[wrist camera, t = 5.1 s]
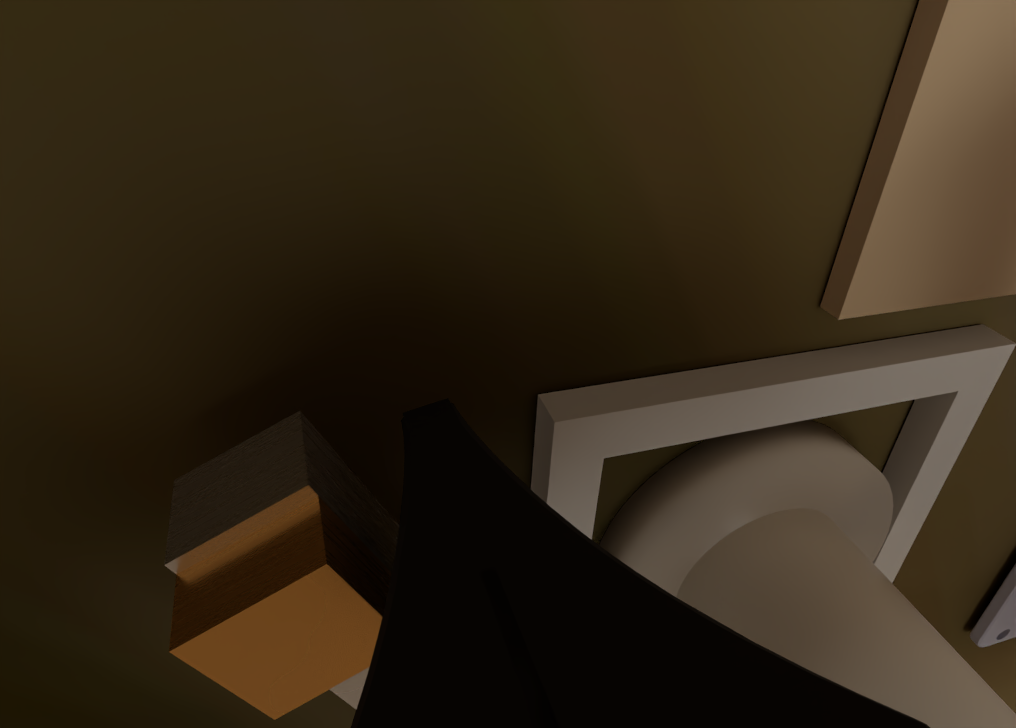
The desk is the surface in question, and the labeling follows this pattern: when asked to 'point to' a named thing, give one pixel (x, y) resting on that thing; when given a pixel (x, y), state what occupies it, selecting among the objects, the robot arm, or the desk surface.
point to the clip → (279, 569)
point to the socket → (780, 416)
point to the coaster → (938, 171)
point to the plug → (799, 566)
